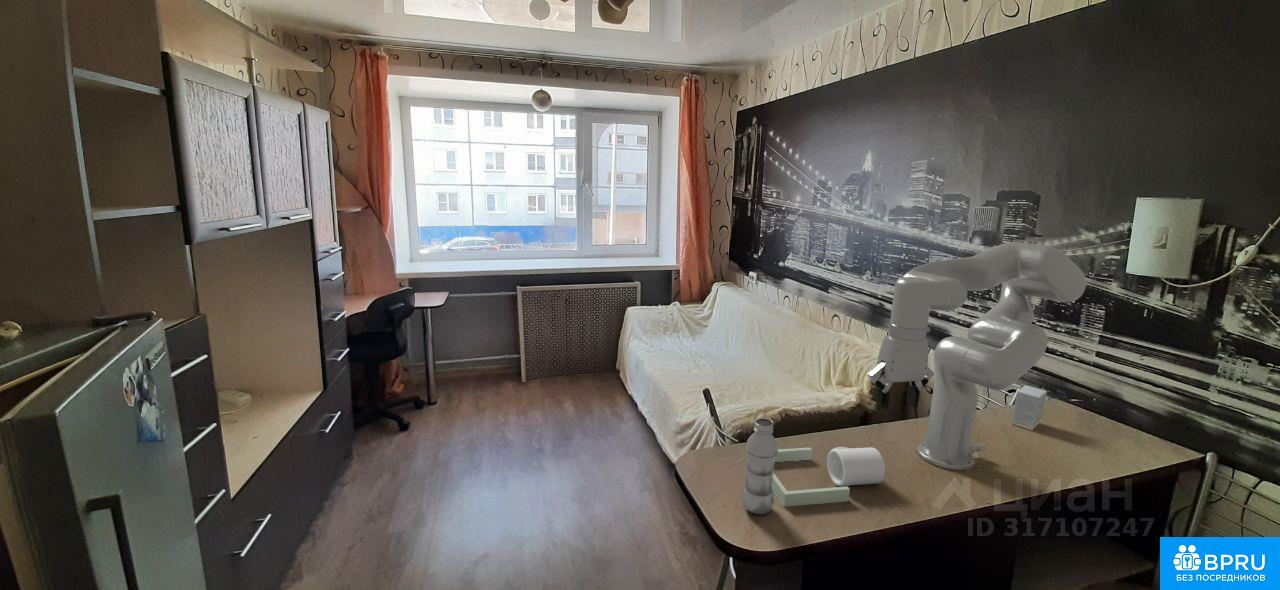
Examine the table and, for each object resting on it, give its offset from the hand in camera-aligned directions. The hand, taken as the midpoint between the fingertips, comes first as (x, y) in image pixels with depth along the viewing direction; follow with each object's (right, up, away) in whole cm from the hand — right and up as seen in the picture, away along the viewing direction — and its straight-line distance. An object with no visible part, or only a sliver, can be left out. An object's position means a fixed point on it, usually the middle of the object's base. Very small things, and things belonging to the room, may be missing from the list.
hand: (897, 405), depth 122 cm
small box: (+53, -12, +32) cm, 63 cm away
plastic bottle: (-35, -20, -11) cm, 42 cm away
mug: (-10, -18, +2) cm, 21 cm away
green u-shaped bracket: (-23, -18, 0) cm, 29 cm away
